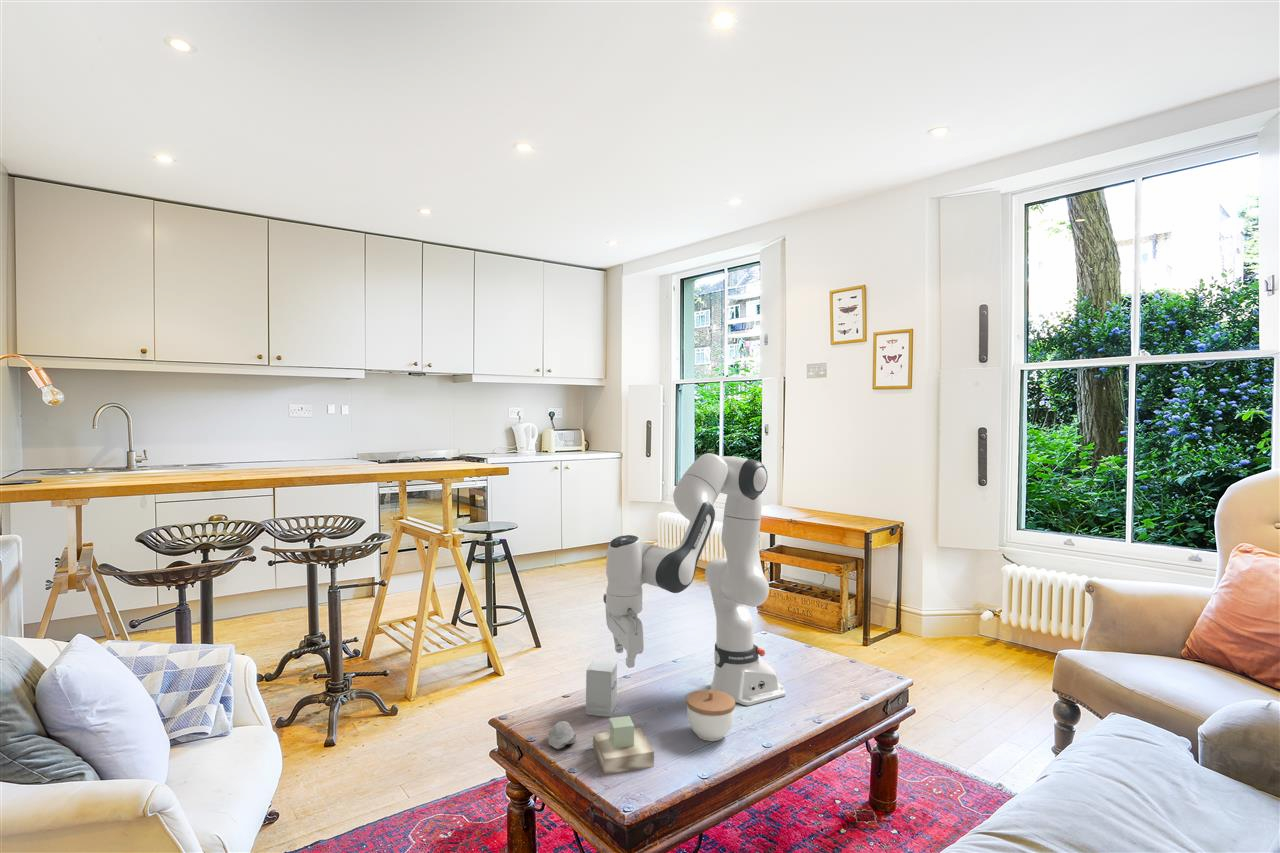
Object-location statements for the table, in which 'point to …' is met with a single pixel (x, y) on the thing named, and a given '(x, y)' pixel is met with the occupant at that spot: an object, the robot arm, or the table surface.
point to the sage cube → (621, 732)
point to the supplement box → (601, 688)
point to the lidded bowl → (710, 713)
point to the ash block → (623, 753)
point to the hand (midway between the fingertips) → (624, 659)
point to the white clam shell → (561, 735)
